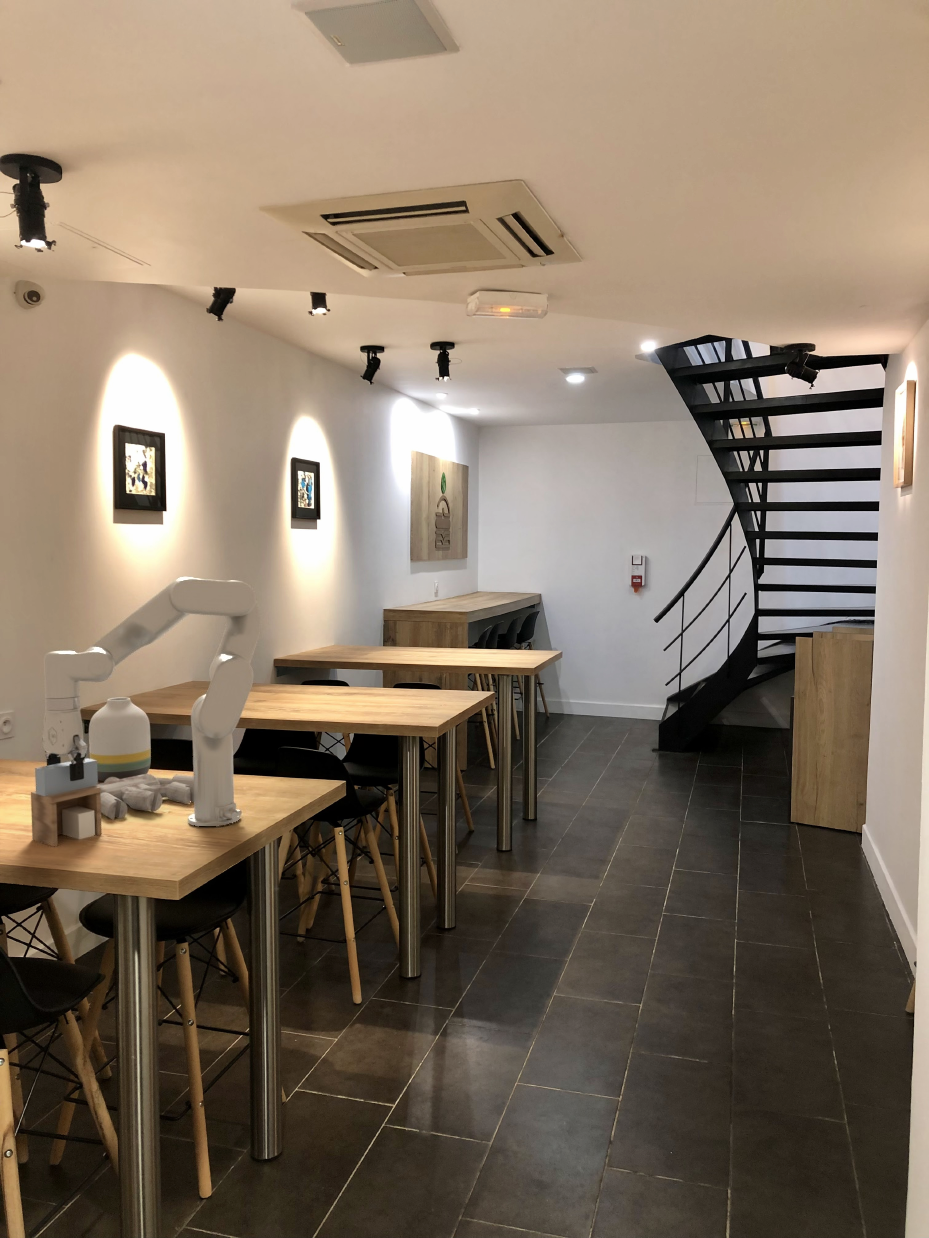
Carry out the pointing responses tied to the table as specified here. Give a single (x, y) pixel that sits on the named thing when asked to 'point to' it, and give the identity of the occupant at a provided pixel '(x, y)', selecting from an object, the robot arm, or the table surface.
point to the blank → (64, 778)
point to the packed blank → (78, 822)
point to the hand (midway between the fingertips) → (65, 777)
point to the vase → (120, 740)
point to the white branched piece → (143, 793)
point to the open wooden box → (50, 812)
